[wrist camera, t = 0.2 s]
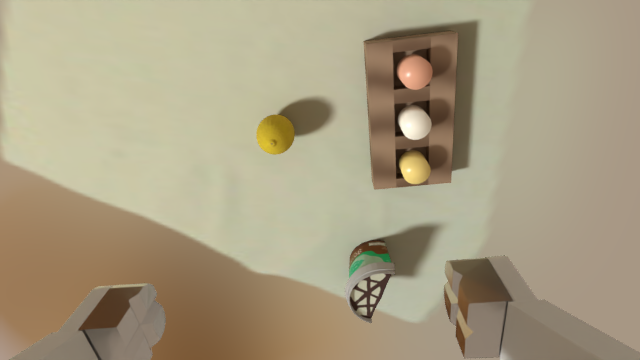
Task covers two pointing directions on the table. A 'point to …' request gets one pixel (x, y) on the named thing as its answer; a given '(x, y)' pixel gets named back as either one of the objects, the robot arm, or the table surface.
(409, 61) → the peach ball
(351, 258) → the food container
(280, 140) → the lemon
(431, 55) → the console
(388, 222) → the table surface
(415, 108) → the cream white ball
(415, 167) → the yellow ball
